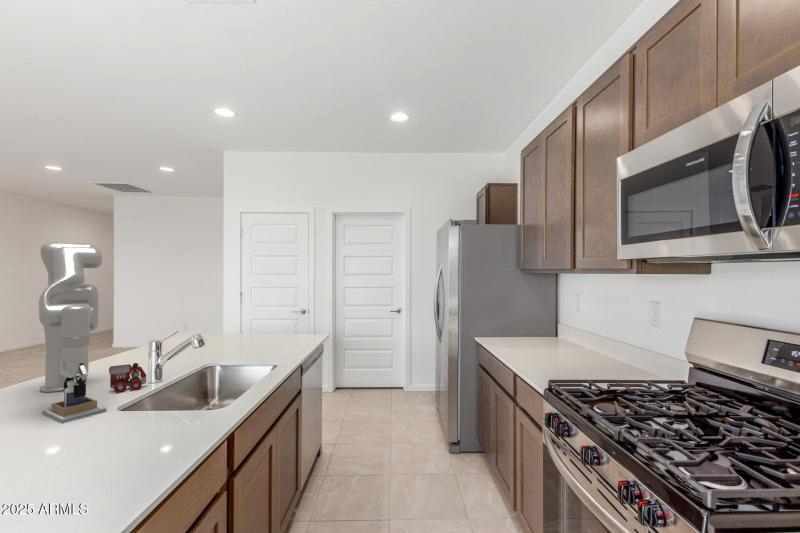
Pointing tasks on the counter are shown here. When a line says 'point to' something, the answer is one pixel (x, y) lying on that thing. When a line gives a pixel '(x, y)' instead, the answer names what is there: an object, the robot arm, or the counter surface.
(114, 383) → the toy fire truck
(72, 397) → the pill bottle
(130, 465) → the counter surface
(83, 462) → the counter surface
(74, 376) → the robot arm
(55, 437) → the counter surface
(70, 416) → the bay
